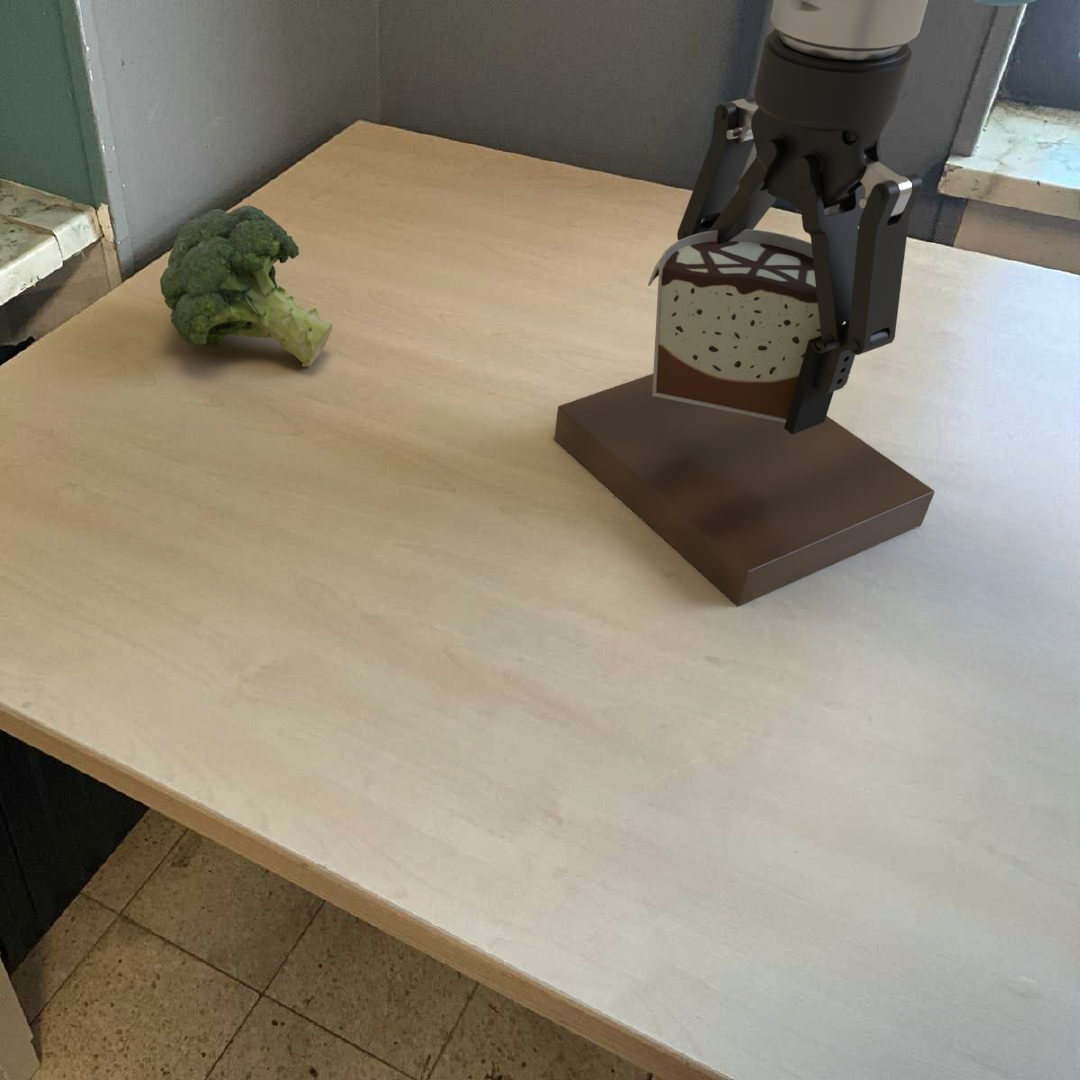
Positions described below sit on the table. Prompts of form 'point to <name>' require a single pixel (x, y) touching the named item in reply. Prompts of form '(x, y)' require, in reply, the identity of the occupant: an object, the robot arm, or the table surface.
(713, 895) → the table surface
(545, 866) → the table surface
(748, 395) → the food container
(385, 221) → the table surface
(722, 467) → the board
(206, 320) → the vegetable
